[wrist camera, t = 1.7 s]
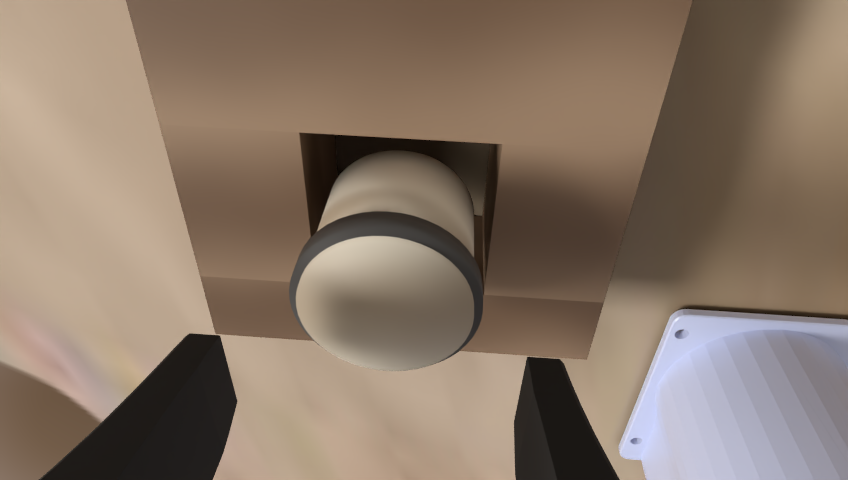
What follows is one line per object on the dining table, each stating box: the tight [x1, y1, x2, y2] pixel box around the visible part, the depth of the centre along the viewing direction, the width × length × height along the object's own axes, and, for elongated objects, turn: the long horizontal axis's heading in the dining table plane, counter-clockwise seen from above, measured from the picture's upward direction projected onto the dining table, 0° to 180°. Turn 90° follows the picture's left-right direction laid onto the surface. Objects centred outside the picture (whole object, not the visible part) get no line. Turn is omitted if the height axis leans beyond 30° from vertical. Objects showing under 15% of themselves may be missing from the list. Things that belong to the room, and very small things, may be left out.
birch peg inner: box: [289, 150, 483, 371], centre depth 15 cm, size 4×4×4 cm
